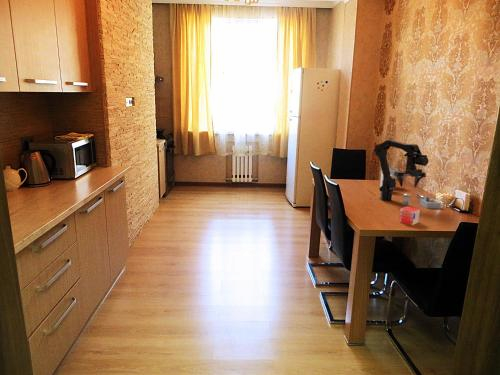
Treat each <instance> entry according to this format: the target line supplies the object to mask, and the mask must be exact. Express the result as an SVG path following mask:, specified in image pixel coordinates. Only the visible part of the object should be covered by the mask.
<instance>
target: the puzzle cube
mask: <svg viewBox="0 0 500 375" xmlns="http://www.w3.org/2000/svg"><path fill="white" fill-rule="evenodd" d="M420 211H421V208H415V207H412V206H403V207H401V208H399V216H398V223H402V224H406V225H409V226H413V225H416V224H418V223H419V219H420V213H421V212H420Z"/></svg>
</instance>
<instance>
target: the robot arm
mask: <svg viewBox="0 0 500 375" xmlns="http://www.w3.org/2000/svg"><path fill="white" fill-rule="evenodd" d="M391 147H392V148H395V149H399V150H403V152H405V154H404V155H403V157H406V162H405V164H404V166H405V169H404V172H403V171H401V170H400V171H399V170H398V171H395V172H394V176H396V177H397V178H392V177H391V174H390V170H389V168H390V166H389V162H388V158H387V156H388V150H390V148H391ZM373 150H374V153H375V156H377V158H378V160H379V164H380V169H381V170H382V173H383V177H384V179H383V185H382V186H381V187H380V186H379V192H380V197H379V199H380V200H381V201H386V202H387V201H390V202H391V201H392V197H393V196H392V195H393V193H392V192H394V190H395V189H396V188H397V182H396V179H397V180H398V183H399V185H400V187H401V188H403V184H404V183H403V180H404V179H405V178H404V176H410V177H411V178H413V177H414V185H413V186H414V188H417V186H418V184H419V182H420V181H421V180H422V179H424V178H426V177H427V176H426V173H425V172H423V169H422V168H417V167H418V166H422V167H427V165H428V163H429V161H430V160H429V158H428V155H427V154H423V153H422V151H421V149H420V147H419V144H415V143H404V142H401V141H398V140H393V139H386V140H385V141H383V142H381V143H380V144H378V145H376V146H374V149H373ZM417 165H418V166H417Z"/></svg>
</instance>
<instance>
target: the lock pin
mask: <svg viewBox="0 0 500 375" xmlns="http://www.w3.org/2000/svg"><path fill="white" fill-rule="evenodd" d="M419 196H422V197H424V196H425V195H422V193H421V192H416V195H415V198H417V199H418V198H419ZM424 199H426V200H427V198H426V197H424Z"/></svg>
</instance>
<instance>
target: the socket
mask: <svg viewBox="0 0 500 375" xmlns="http://www.w3.org/2000/svg"><path fill="white" fill-rule="evenodd" d="M419 204H420V206H422V207H424V208H426V209H441V207H442V202H439V201H438V200H436V199H433V198H430V199H428V201H427V200H426V199H420V202H419Z"/></svg>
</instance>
